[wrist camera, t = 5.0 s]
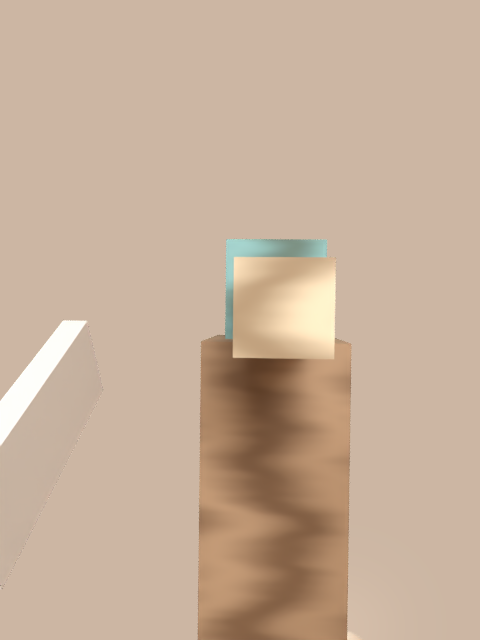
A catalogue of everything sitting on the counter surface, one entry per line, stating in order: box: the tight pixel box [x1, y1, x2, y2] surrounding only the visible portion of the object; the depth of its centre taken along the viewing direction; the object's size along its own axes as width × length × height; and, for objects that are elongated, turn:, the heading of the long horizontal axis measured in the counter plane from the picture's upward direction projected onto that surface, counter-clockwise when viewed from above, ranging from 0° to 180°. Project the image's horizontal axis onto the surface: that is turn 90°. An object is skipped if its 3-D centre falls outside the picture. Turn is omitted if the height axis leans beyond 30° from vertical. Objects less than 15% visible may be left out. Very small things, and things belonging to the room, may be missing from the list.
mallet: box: [225, 239, 336, 359], centre depth 24 cm, size 6×18×6 cm, turn 177°
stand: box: [198, 335, 351, 640], centre depth 28 cm, size 8×8×30 cm
